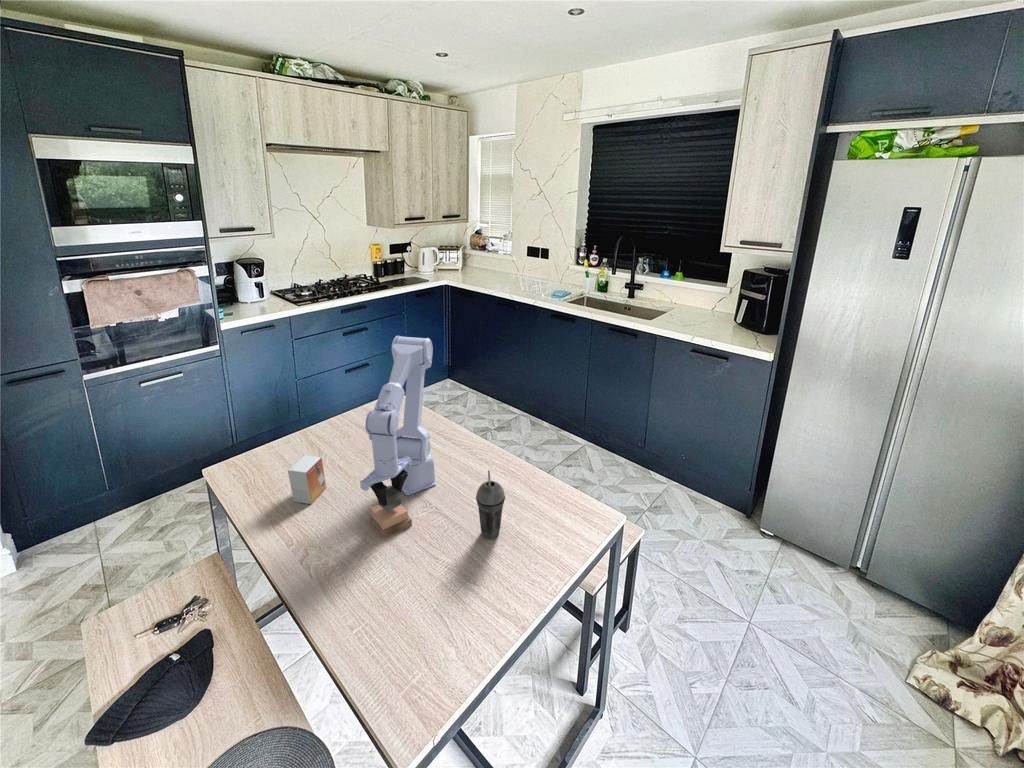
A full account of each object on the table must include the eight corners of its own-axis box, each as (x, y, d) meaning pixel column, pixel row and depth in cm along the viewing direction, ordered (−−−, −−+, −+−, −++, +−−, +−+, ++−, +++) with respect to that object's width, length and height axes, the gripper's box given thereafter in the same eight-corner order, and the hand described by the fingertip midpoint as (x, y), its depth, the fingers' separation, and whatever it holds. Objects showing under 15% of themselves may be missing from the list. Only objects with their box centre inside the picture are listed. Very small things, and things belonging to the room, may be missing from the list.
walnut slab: (399, 510, 135) (398, 503, 134) (412, 527, 130) (411, 519, 128) (370, 522, 131) (370, 514, 130) (383, 539, 125) (382, 531, 124)
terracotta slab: (395, 505, 134) (394, 497, 133) (408, 518, 129) (407, 511, 128) (371, 515, 129) (370, 507, 128) (383, 530, 125) (382, 522, 124)
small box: (311, 505, 136) (305, 473, 131) (293, 502, 137) (286, 470, 132) (327, 487, 143) (322, 456, 139) (309, 485, 144) (304, 454, 140)
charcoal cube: (391, 497, 130) (390, 485, 128) (401, 504, 128) (400, 491, 126) (378, 505, 127) (377, 492, 126) (388, 511, 125) (387, 498, 123)
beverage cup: (508, 527, 129) (510, 463, 121) (498, 546, 123) (499, 480, 115) (482, 521, 131) (482, 457, 123) (471, 539, 125) (470, 473, 117)
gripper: (398, 437, 129) (401, 481, 134) (350, 461, 118) (356, 507, 124) (416, 447, 125) (419, 491, 130) (368, 472, 114) (373, 519, 120)
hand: (389, 499), depth 127 cm, fingers closed on charcoal cube, 4 cm apart
